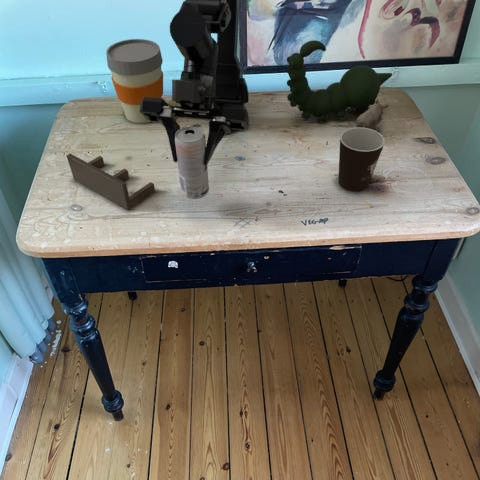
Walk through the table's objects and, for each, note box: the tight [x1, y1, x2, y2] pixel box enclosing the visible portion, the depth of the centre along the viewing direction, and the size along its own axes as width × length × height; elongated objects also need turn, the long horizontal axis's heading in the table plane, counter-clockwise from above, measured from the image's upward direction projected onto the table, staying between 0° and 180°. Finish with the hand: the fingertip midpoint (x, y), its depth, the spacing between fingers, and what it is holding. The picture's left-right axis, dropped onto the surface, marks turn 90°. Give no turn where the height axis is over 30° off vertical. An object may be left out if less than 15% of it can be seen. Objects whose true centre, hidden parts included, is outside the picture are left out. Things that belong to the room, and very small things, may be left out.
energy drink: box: [175, 126, 210, 200], centre depth 90 cm, size 5×5×12 cm
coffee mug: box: [337, 127, 386, 193], centre depth 100 cm, size 12×9×10 cm
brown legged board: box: [66, 153, 156, 211], centre depth 101 cm, size 8×17×6 cm, turn 52°
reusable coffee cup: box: [105, 38, 164, 124], centre depth 116 cm, size 12×12×15 cm
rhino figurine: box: [355, 99, 389, 131], centre depth 114 cm, size 4×14×6 cm, turn 145°
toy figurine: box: [286, 40, 393, 123], centre depth 114 cm, size 9×19×25 cm
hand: (190, 163), depth 88 cm, fingers closed on energy drink, 5 cm apart
